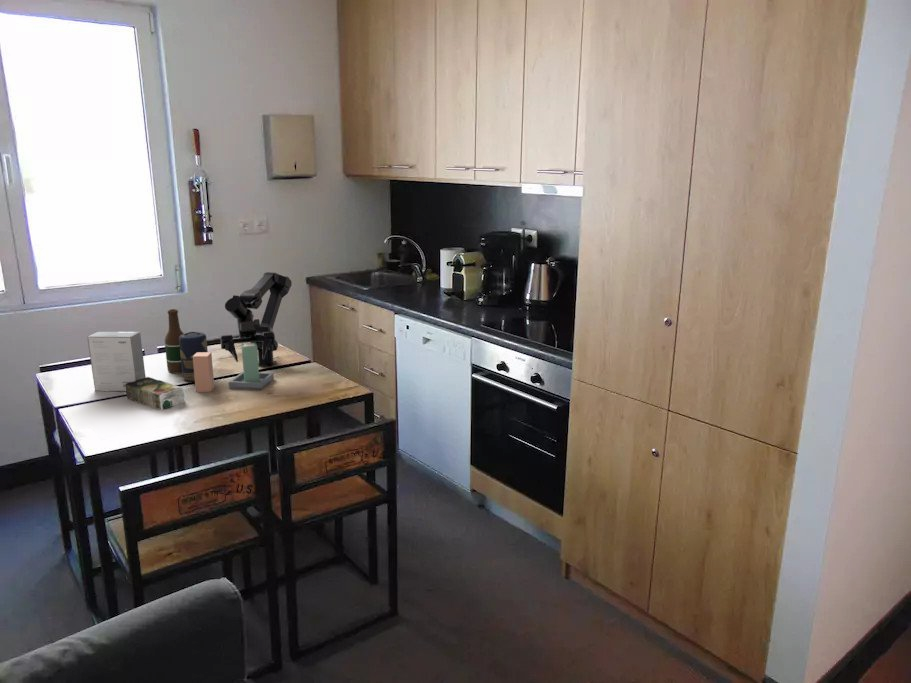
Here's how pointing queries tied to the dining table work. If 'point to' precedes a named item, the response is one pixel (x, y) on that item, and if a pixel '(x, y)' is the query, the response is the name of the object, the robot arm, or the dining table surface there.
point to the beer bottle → (173, 343)
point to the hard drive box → (115, 359)
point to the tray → (240, 384)
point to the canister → (191, 351)
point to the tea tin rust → (203, 371)
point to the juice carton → (155, 393)
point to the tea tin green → (250, 362)
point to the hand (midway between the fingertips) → (250, 360)
